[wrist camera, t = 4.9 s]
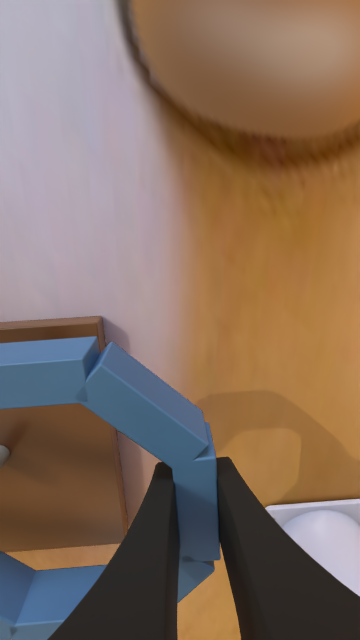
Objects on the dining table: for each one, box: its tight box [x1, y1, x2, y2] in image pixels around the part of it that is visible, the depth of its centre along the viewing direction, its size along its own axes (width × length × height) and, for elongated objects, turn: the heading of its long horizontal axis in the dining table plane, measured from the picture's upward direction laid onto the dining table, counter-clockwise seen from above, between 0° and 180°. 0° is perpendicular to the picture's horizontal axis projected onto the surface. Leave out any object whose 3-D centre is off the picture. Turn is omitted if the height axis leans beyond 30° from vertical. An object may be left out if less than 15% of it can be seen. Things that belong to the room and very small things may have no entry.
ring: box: [0, 336, 221, 640], centre depth 12 cm, size 11×11×2 cm
